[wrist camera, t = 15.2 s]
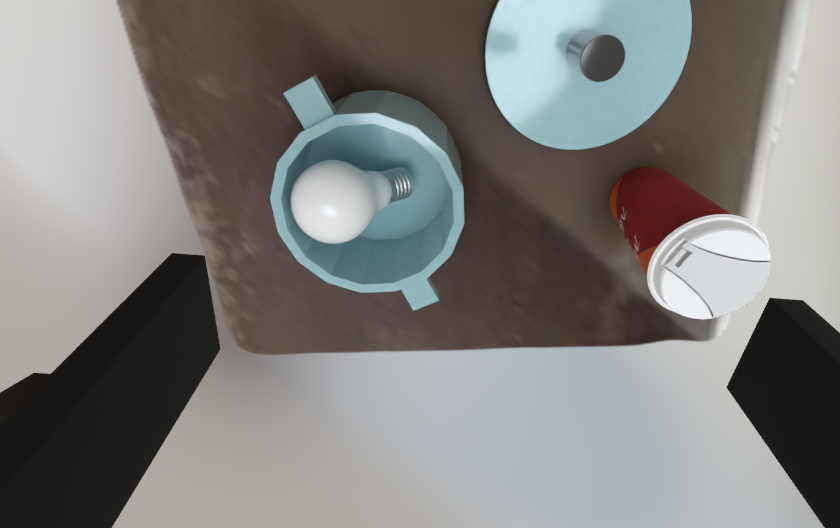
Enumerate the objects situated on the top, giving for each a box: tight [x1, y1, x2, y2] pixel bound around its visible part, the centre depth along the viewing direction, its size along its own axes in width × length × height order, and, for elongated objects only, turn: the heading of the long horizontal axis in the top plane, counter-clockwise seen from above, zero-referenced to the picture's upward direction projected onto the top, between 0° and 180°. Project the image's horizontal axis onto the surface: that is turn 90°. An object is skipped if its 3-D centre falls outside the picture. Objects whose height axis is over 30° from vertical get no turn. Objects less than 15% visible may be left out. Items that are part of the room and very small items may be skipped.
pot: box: [270, 75, 464, 310], centre depth 41 cm, size 14×20×8 cm
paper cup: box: [610, 167, 771, 319], centre depth 39 cm, size 8×8×14 cm
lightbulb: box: [290, 160, 414, 244], centre depth 40 cm, size 6×6×11 cm
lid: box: [485, 0, 692, 150], centre depth 36 cm, size 15×15×6 cm
